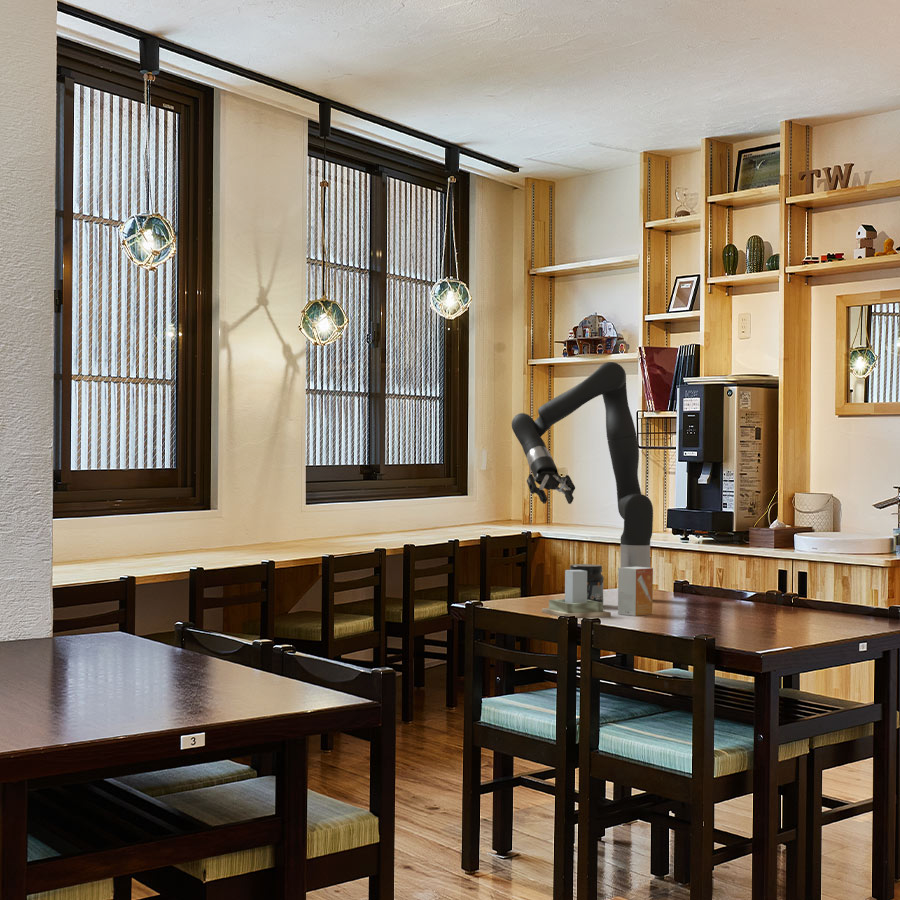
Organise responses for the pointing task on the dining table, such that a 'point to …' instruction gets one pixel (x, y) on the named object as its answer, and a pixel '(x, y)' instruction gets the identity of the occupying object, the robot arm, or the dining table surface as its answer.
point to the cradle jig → (576, 609)
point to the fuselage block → (575, 586)
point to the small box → (635, 591)
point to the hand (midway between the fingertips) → (558, 501)
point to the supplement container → (592, 580)
